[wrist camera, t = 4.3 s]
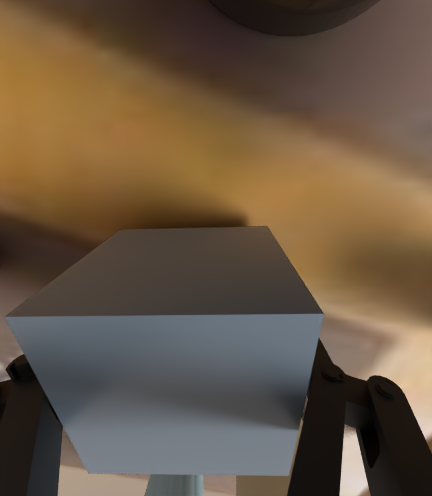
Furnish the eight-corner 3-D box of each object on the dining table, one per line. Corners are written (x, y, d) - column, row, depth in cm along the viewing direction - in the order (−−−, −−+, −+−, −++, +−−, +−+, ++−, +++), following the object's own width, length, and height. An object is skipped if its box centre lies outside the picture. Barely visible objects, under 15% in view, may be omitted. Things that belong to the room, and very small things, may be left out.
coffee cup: (223, 440, 27) (226, 636, 16) (236, 392, 23) (253, 602, 12) (295, 447, 28) (347, 642, 16) (319, 401, 24) (407, 611, 13)
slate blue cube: (120, 229, 15) (4, 316, 7) (267, 226, 15) (323, 313, 7) (144, 338, 19) (88, 473, 11) (259, 337, 19) (288, 475, 11)
